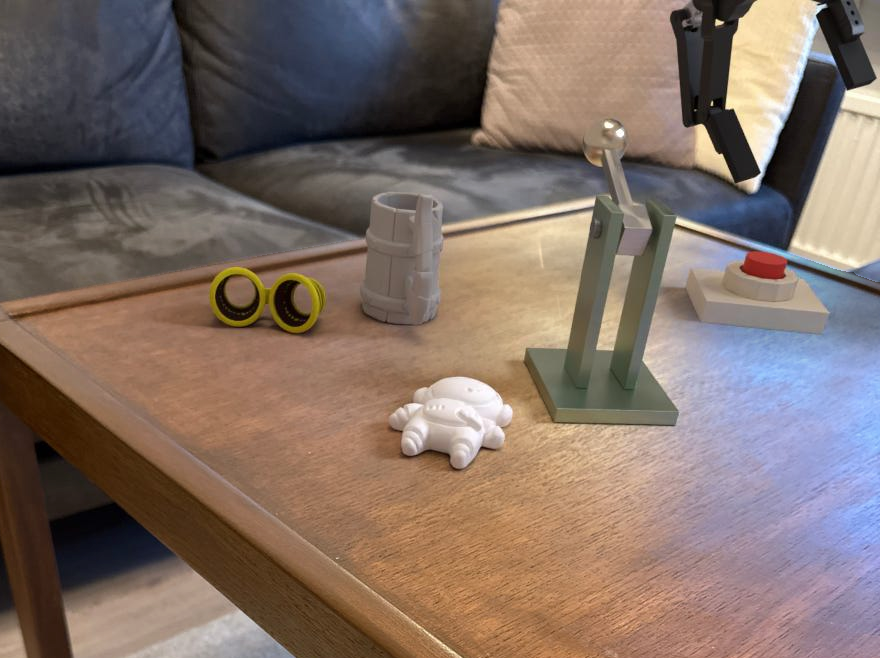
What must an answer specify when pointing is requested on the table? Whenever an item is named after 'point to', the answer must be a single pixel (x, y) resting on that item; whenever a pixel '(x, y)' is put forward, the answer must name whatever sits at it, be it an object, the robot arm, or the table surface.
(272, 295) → the opera glasses
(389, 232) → the mug
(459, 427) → the astronaut figurine
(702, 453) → the table surface
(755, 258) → the button
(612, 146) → the lever
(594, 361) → the bracket
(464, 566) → the table surface
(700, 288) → the box
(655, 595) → the table surface
